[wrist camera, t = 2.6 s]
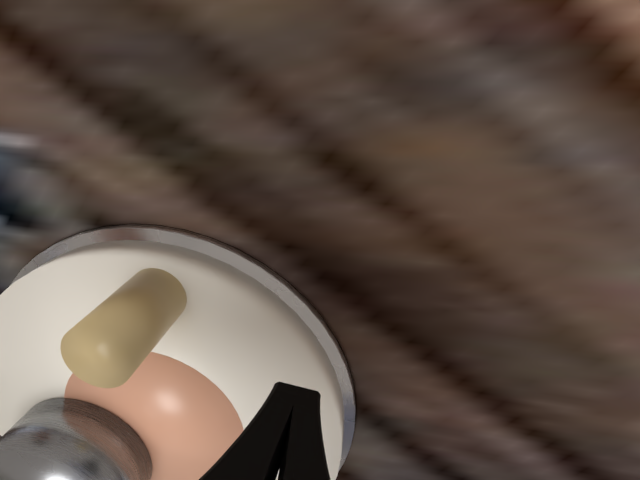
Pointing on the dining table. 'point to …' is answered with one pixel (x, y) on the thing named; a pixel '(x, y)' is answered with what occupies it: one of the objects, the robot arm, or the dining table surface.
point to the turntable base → (242, 264)
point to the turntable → (160, 349)
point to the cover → (72, 445)
